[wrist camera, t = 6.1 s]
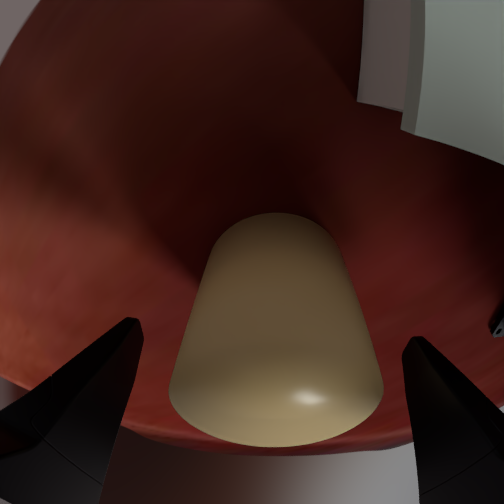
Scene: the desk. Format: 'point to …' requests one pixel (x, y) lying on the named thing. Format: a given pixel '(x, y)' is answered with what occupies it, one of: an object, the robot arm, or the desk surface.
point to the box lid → (457, 75)
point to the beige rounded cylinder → (276, 339)
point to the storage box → (385, 53)
